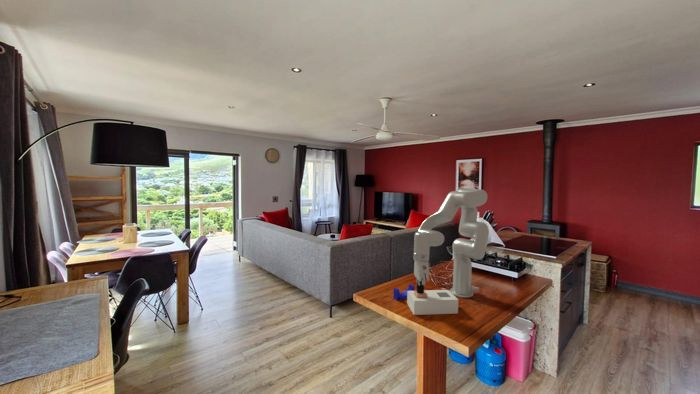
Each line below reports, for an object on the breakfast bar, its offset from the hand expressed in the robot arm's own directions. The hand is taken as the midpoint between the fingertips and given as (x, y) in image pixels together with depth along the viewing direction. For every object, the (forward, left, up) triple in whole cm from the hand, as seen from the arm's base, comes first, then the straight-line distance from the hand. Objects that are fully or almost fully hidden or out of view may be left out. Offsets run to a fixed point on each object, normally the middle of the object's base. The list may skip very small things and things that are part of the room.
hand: (420, 292), depth 144 cm
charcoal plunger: (-12, 0, -8) cm, 15 cm away
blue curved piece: (+5, -15, -9) cm, 18 cm away
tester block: (-6, 0, -9) cm, 11 cm away
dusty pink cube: (0, 0, -7) cm, 7 cm away
